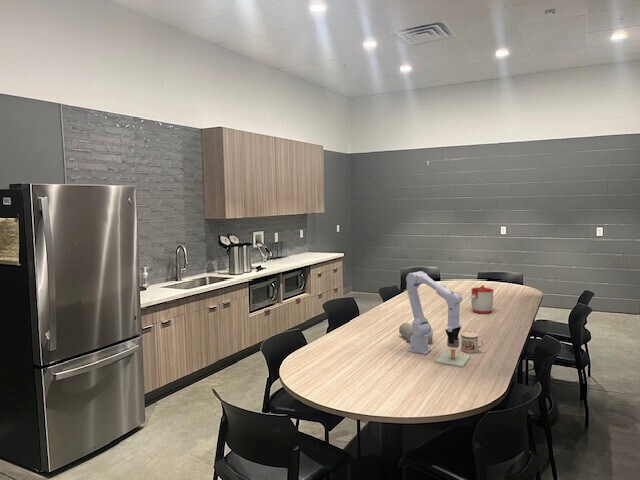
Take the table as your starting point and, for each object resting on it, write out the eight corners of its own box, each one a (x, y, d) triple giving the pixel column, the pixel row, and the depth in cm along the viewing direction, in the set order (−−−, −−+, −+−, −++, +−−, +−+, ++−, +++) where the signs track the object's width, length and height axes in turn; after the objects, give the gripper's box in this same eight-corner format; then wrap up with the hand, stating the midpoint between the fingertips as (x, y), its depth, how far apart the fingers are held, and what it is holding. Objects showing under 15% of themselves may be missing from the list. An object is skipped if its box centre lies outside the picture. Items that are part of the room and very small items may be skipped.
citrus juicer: (464, 311, 350) (464, 284, 348) (482, 308, 357) (482, 282, 355) (479, 316, 336) (480, 288, 334) (497, 313, 343) (498, 286, 341)
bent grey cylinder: (397, 341, 275) (432, 343, 270) (397, 323, 277) (432, 325, 272) (399, 339, 292) (432, 341, 288) (399, 322, 294) (432, 324, 289)
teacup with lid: (458, 351, 260) (459, 331, 259) (462, 347, 268) (463, 327, 267) (481, 355, 254) (482, 334, 253) (484, 350, 262) (485, 329, 261)
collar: (446, 346, 245) (446, 339, 244) (448, 343, 250) (449, 336, 249) (457, 348, 242) (457, 340, 242) (459, 345, 247) (459, 337, 247)
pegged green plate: (434, 362, 243) (435, 352, 243) (444, 353, 257) (444, 343, 257) (462, 367, 236) (462, 356, 236) (470, 358, 250) (470, 347, 249)
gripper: (457, 320, 236) (457, 347, 237) (465, 314, 249) (464, 339, 250) (443, 318, 240) (443, 344, 241) (451, 312, 252) (451, 337, 253)
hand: (453, 341), depth 246 cm, fingers closed on collar, 6 cm apart
